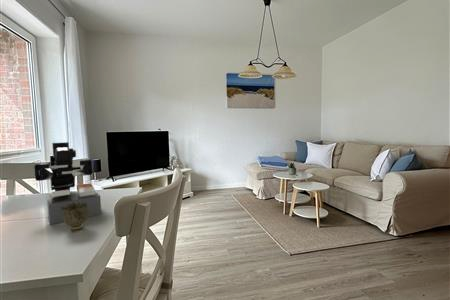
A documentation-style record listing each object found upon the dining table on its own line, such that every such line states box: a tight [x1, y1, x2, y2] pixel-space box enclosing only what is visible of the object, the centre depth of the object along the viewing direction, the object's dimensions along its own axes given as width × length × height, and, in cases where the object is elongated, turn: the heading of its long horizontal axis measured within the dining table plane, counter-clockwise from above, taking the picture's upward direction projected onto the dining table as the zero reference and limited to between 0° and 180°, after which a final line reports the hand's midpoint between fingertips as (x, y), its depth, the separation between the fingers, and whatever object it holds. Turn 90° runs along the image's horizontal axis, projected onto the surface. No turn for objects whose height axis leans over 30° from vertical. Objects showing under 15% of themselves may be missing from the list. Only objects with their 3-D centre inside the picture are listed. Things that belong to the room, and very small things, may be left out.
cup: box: [61, 202, 88, 232], centre depth 79 cm, size 8×7×8 cm
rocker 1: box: [51, 189, 71, 197], centre depth 89 cm, size 8×5×2 cm, turn 38°
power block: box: [46, 190, 102, 225], centre depth 93 cm, size 12×16×7 cm
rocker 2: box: [76, 182, 96, 197], centre depth 94 cm, size 8×5×2 cm, turn 38°
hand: (67, 172), depth 90 cm, fingers open, 9 cm apart
